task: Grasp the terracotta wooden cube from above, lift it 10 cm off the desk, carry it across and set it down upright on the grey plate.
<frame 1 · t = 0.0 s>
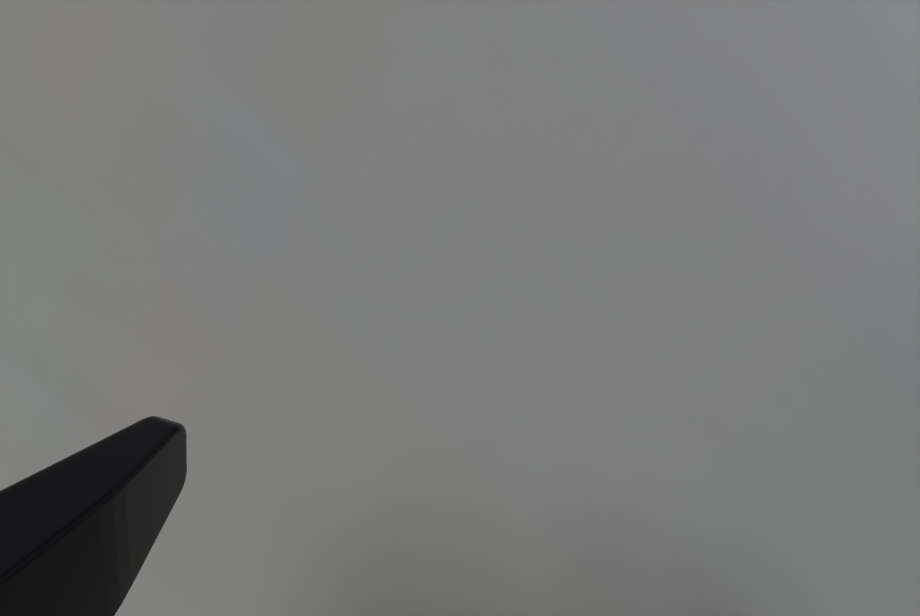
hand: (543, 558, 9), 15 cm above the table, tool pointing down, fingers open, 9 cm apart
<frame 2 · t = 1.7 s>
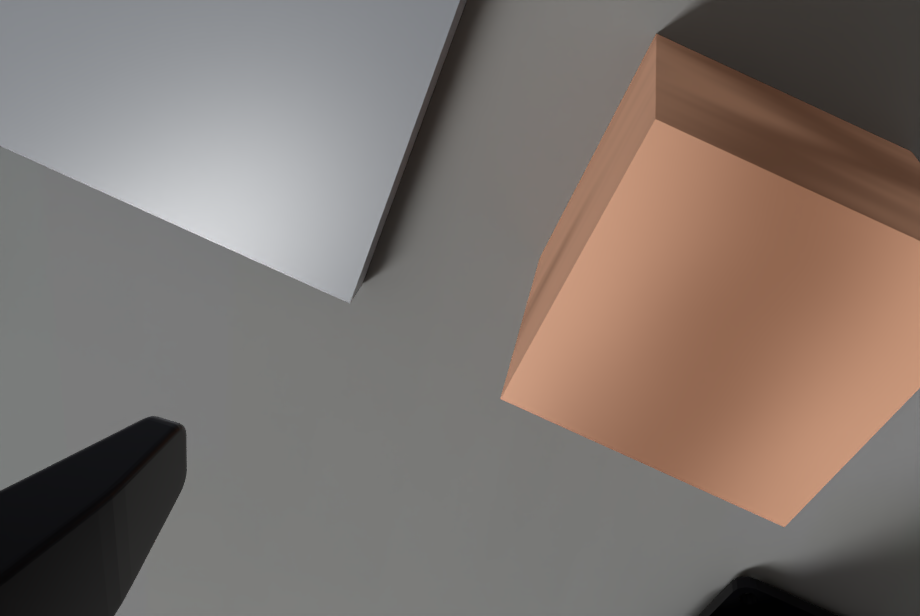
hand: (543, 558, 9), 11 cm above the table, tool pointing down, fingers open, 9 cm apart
terracotta cube: (709, 207, 18), on the table
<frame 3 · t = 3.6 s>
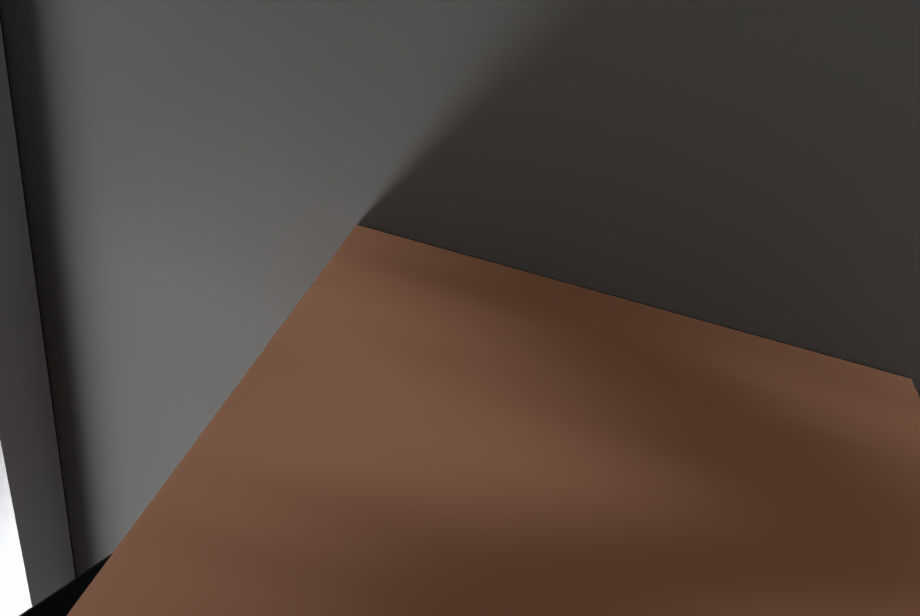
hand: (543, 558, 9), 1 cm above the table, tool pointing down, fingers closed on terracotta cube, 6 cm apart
terracotta cube: (554, 493, 10), on the table, touching gripper
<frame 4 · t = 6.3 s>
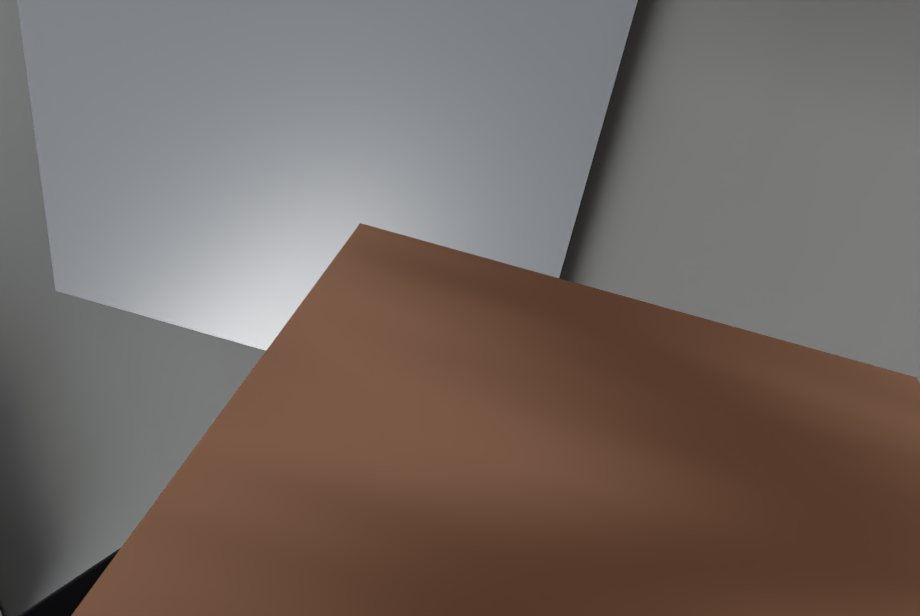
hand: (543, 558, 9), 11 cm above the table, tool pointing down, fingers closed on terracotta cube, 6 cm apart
grey plate: (309, 107, 19), on the table
terracotta cube: (557, 492, 10), point 10 cm above the table, touching gripper
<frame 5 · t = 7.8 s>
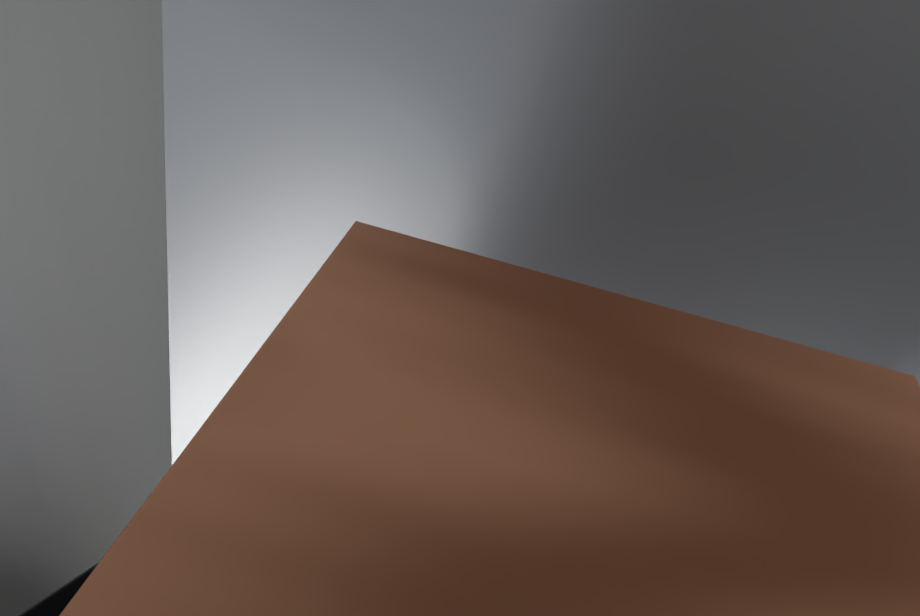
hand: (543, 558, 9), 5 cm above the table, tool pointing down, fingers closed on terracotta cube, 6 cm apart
grey plate: (575, 313, 13), on the table
terracotta cube: (554, 491, 10), point 4 cm above the table, touching gripper
when the fingers open (3 cm above the table, at t = 9.0 s): terracotta cube drops 1 cm, resting on grey plate.
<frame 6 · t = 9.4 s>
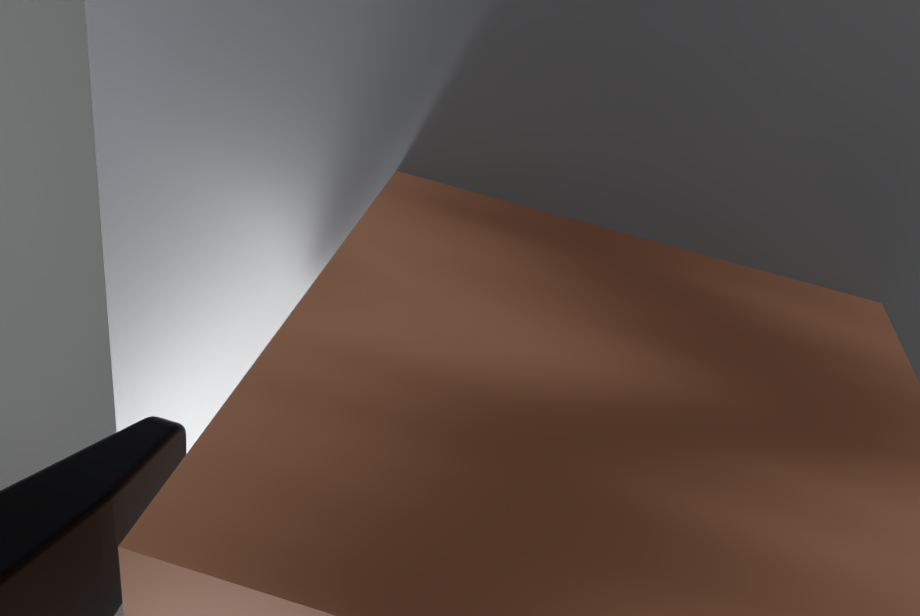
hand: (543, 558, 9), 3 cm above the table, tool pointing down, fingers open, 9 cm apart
grey plate: (568, 378, 12), on the table
terracotta cube: (567, 417, 11), point 1 cm above the table, touching grey plate
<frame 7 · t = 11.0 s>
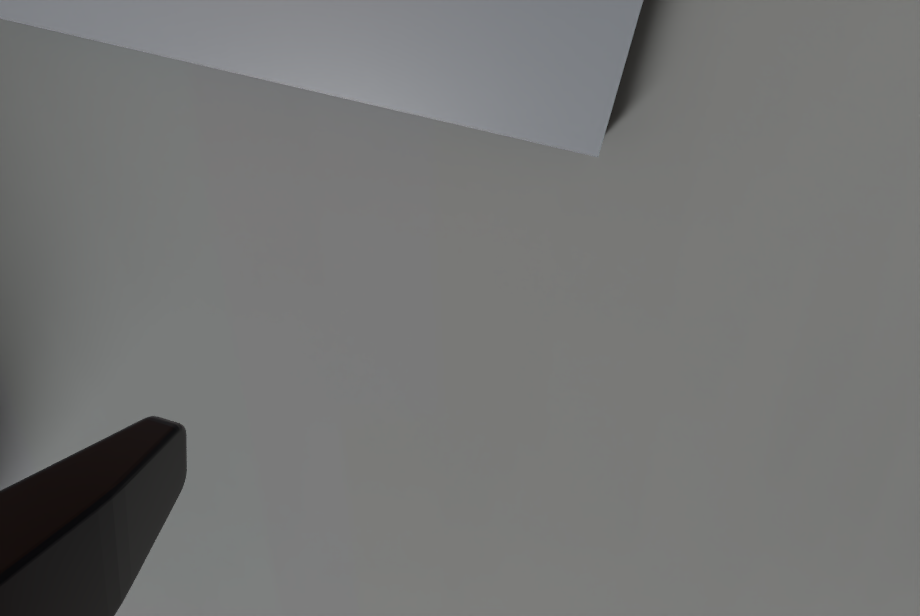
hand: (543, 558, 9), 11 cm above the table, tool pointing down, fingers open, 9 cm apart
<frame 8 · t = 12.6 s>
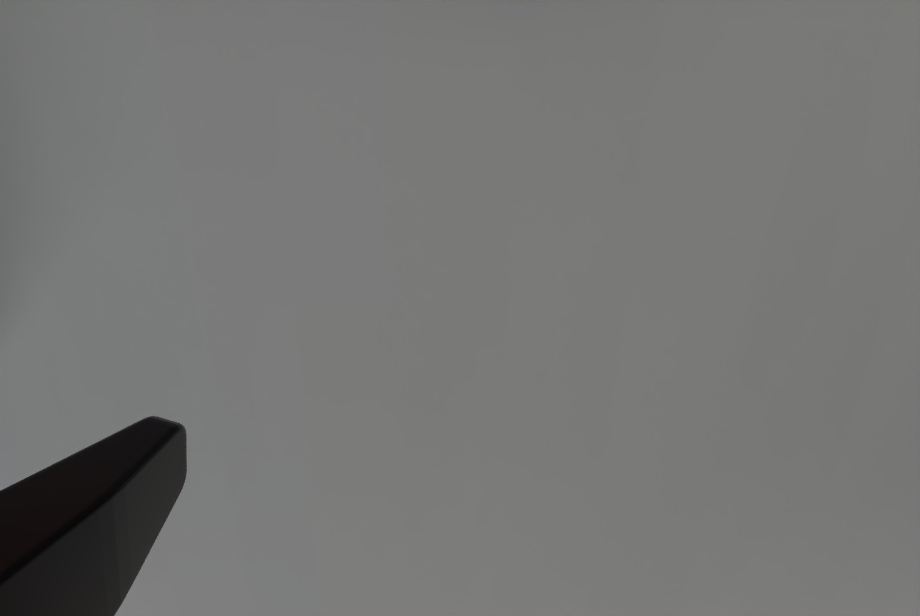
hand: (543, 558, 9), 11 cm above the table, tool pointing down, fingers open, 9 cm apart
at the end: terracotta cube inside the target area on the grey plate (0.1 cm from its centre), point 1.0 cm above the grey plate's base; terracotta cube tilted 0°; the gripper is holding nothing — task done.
